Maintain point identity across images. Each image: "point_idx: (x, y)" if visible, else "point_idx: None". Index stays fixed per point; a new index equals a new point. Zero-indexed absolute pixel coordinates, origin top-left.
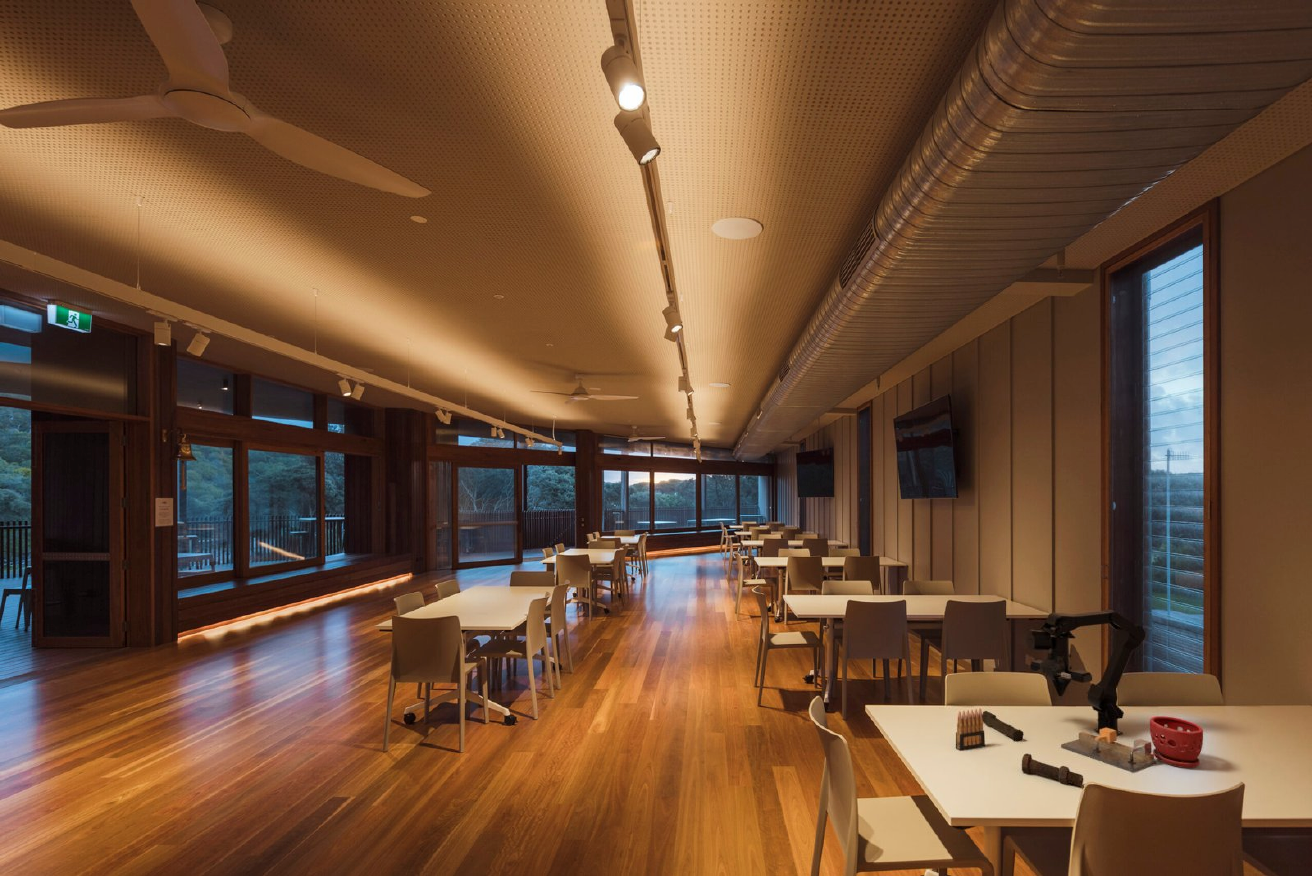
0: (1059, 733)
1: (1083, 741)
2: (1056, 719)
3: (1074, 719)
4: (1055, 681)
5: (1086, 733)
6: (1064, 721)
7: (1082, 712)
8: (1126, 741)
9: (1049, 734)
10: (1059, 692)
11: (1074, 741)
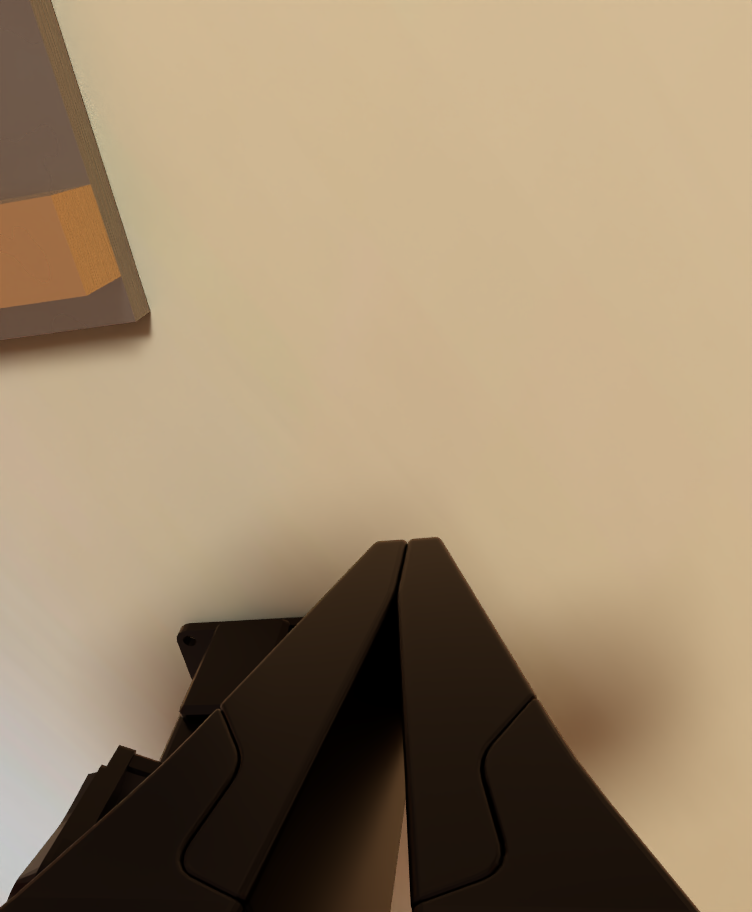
0: (402, 224)
1: (13, 164)
2: (718, 595)
3: (624, 725)
4: (466, 901)
5: (26, 283)
6: (638, 612)
7: (696, 894)
8: (84, 628)
9: (418, 40)
10: (380, 587)
11: (16, 28)
